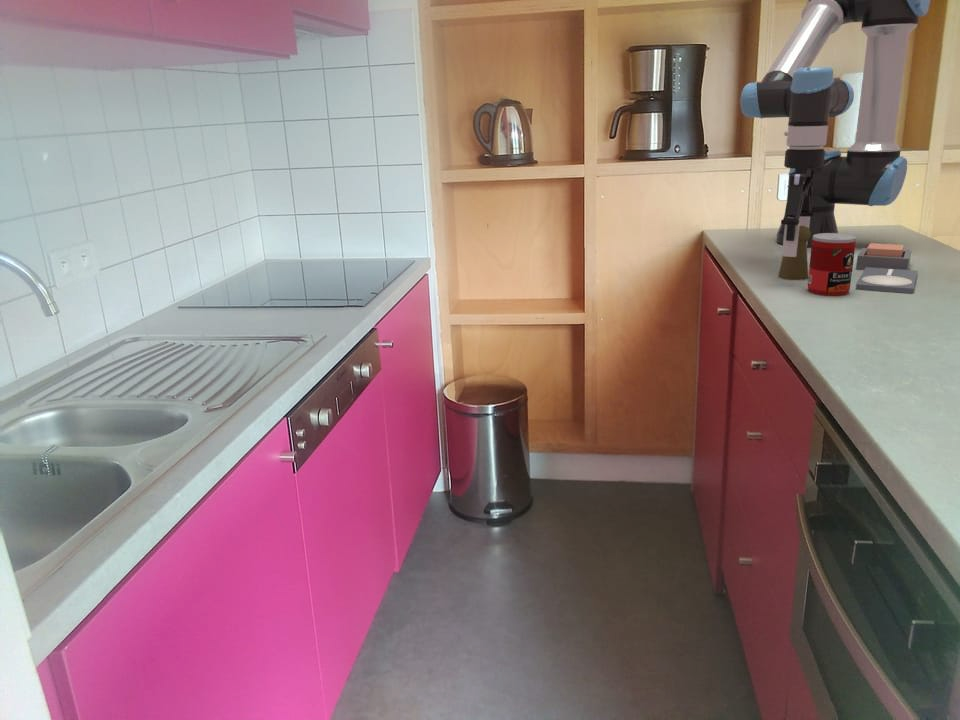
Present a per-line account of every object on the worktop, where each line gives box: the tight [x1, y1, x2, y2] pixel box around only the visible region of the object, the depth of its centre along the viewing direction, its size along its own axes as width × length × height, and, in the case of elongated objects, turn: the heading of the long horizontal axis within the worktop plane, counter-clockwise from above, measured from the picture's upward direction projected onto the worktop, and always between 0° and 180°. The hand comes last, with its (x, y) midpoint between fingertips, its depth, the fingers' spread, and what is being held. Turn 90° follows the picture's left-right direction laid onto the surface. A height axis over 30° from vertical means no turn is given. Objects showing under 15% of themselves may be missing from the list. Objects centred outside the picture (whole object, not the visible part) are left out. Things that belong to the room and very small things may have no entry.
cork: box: [778, 226, 810, 281], centre depth 163 cm, size 6×6×11 cm
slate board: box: [855, 267, 919, 294], centre depth 157 cm, size 18×10×1 cm, turn 149°
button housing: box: [855, 247, 912, 271], centre depth 171 cm, size 10×10×3 cm
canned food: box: [807, 232, 857, 297], centre depth 150 cm, size 8×8×11 cm
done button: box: [866, 242, 905, 257], centre depth 170 cm, size 7×7×3 cm
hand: (794, 251), depth 163 cm, fingers open, 13 cm apart
